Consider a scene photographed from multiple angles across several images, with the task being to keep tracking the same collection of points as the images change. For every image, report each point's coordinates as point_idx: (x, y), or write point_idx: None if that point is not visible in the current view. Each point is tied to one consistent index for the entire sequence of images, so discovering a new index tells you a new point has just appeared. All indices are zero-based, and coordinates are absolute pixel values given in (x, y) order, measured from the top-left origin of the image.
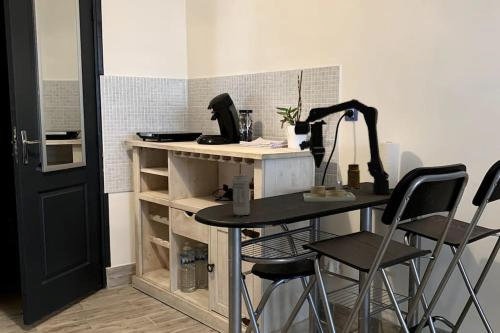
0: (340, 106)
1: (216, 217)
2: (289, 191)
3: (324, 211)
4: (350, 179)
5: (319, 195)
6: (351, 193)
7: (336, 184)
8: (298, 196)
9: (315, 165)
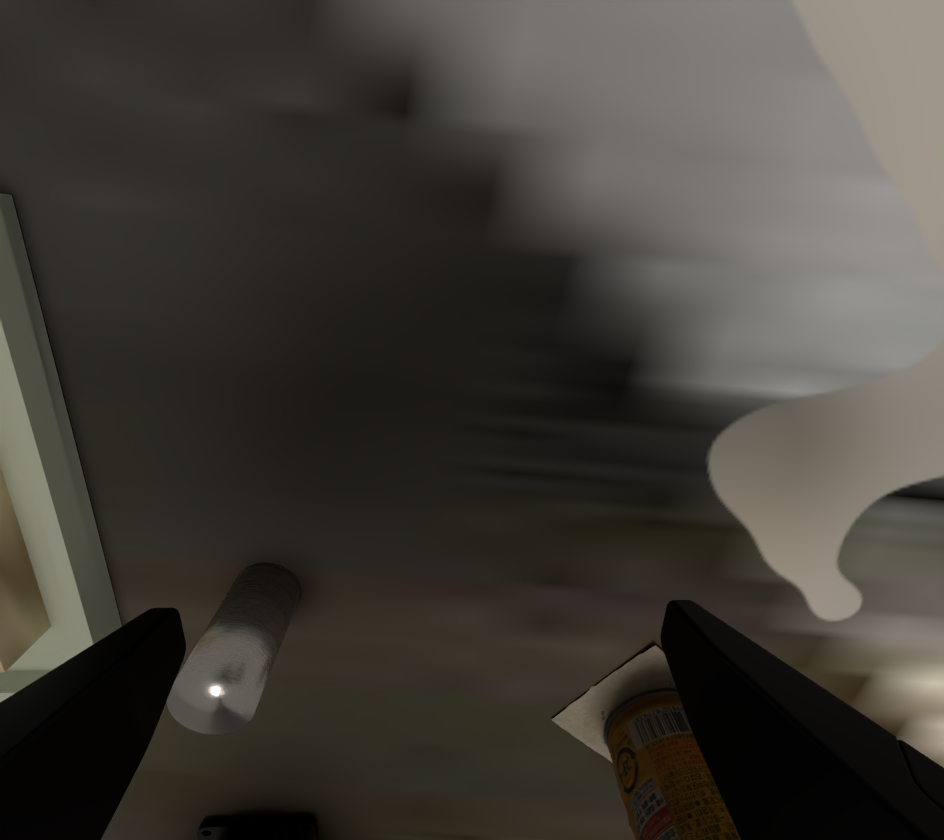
0: None
1: None
2: (624, 31)
3: None
4: (656, 792)
5: None
6: (6, 697)
7: (196, 650)
8: (90, 129)
9: (680, 615)
